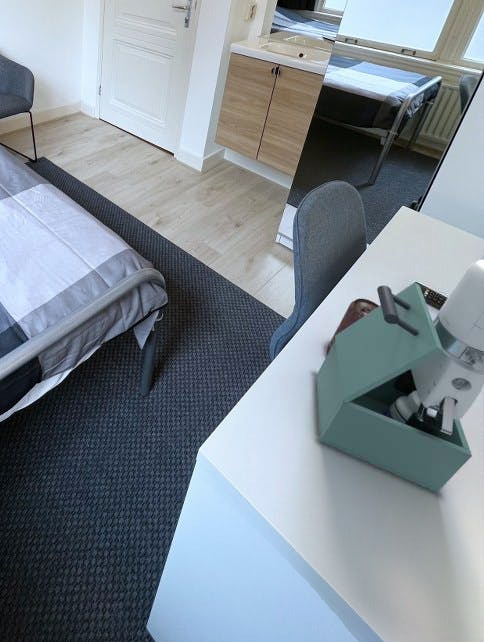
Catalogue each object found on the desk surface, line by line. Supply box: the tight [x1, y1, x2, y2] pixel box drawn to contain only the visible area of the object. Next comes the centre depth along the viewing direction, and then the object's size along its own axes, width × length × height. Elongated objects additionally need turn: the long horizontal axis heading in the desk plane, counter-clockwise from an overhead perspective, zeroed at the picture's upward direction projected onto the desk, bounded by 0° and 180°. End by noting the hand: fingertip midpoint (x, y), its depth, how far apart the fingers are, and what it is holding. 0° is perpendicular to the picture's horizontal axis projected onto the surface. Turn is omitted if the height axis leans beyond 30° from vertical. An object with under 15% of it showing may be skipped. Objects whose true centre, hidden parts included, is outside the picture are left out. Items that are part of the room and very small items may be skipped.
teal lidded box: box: [315, 342, 473, 493], centre depth 70 cm, size 17×13×11 cm
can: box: [326, 298, 380, 354], centre depth 81 cm, size 6×6×14 cm
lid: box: [335, 282, 443, 403], centre depth 65 cm, size 17×13×6 cm
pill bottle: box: [382, 391, 437, 424], centre depth 69 cm, size 5×5×9 cm
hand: (409, 410), depth 68 cm, fingers open, 6 cm apart
